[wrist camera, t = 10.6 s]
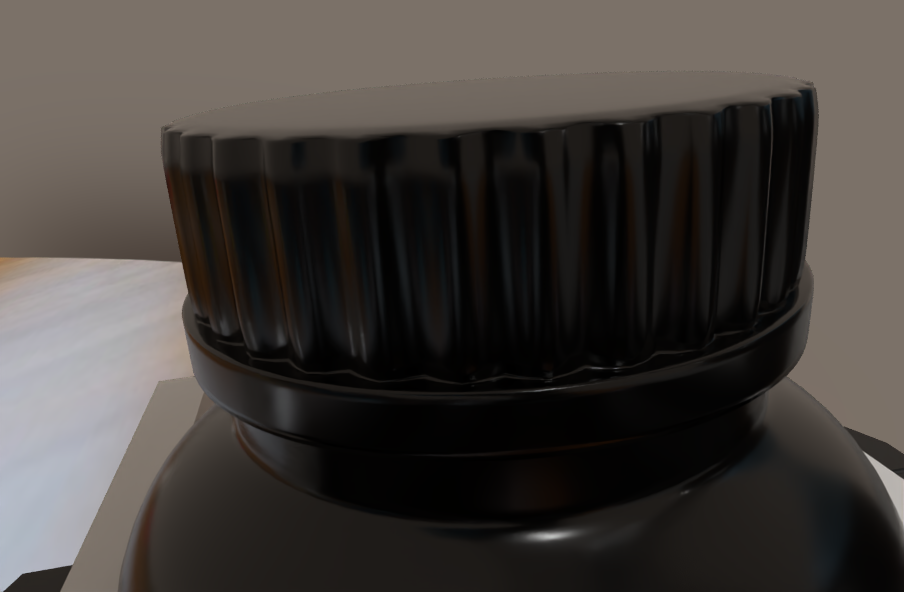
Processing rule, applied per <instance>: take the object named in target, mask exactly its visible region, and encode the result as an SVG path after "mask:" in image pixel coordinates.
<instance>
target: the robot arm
mask: <svg viewBox="0 0 904 592" xmlns="http://www.w3.org/2000/svg"><path fill="white" fill-rule="evenodd" d="M214 404H215V403H214V402H213V401H212V400H211V399H210V398H209V397H208V396H207V395H206V394H205V393H204V391H203V390H202V389H201V387H200V386H199V384H198V382H197V380H196V378H195V376H193V377H186V378H179V379H172V380H165V381H159V382H158V384H157V387H156V389H155V391H154V393H153V395H152V397H151V399H150V401H149V404H148V406H147V408H146V410H145V412H144V414H143V416H142V419H141V421H140V423H139V425H138V427H137V429H136V431H135V433H134V436H133V438H132V440H131V442H130V444H129V446H128V448H127V451H126V453H125V455H124V457H123V459H122V461H121V463H120V465H119V468H118V470H117V472H116V474H115V476H114V478H113V480H112V483H111V485H110V487H109V489H108V491H107V493H106V495H105V497H104V500H103V502H102V504H101V506H100V508H99V510H98V512H97V515H96V517H95V519H94V521H93V523H92V525H91V527H90V529H89V532H88V534H87V536H86V538H85V540H84V542H83V544H82V547H81V549H80V551H79V553H78V555H77V557H76V559H75V561H74V564H73V565H71V566H65V567H59V568H54V569H48V570H42V571H36V572H31V573H25V574H22V575H21V576H20V577H19V578H18V579H17V580H15V581H14V582H13V583H12V584H11V585H10V586H9V587H8V588H7V589H6V590H5V591H3V592H118V584H119V576H120V571H121V566H122V562H123V558H124V554H125V551H126V547H127V544H128V540H129V537H130V534H131V530H132V527H133V524H134V522H135V519H136V517H137V514H138V512H139V510H140V507H141V505H142V503H143V501H144V498H145V496H146V494H147V492H148V489H149V487H150V485H151V484H152V482H153V480H154V478H155V476H156V475H157V473H158V471H159V470H160V468H161V466H162V465H163V463H164V462H165V460H166V458H167V457H168V455H169V454H170V453H171V451H172V450H173V449H174V447H175V446H176V445H177V443H178V442H179V441H180V440H181V438H182V437H183V436H184V435H185V433H186V432H187V431H188V430H189V429H190V428H191V427H192V426H193V424H194V423H195V422H196V421H197V420H198V419H199V418H200V417H201V416H202V415H203V414H204V413H205V412H206V411H207V410H208V409H209V408H210V407H211V406H212V405H214ZM844 428H845V429H846V430H847V431H848V432H849V434H850V435H851V436H852V437H853V438H854V439H855V441H856V442H857V444H858V445H859V446H860V448H861V449H862V451H863V452H864V454H865V455H866V456H867V458H868V459H869V461H870V462H871V464H872V465H873V466H874V468H875V469H876V471H877V473H878V475H879V476H880V478H881V480H882V482H883V483H884V485H885V487H886V489H887V491H888V493H889V495H890V497H891V499H892V501H893V503H894V505H895V507H896V509H897V511H898V514H899V516H900V518H901V520H902V523H903V526H904V454H903V453H901V452H900V451H898V450H897V449H895V448H894V447H892V446H891V445H889V444H887V443H885V442H883V441H880V440H878V439H875V438H873V437H870V436H867V435H865V434H862V433H860V432H857V431H854V430H852V429H849V428H846V427H844Z"/></svg>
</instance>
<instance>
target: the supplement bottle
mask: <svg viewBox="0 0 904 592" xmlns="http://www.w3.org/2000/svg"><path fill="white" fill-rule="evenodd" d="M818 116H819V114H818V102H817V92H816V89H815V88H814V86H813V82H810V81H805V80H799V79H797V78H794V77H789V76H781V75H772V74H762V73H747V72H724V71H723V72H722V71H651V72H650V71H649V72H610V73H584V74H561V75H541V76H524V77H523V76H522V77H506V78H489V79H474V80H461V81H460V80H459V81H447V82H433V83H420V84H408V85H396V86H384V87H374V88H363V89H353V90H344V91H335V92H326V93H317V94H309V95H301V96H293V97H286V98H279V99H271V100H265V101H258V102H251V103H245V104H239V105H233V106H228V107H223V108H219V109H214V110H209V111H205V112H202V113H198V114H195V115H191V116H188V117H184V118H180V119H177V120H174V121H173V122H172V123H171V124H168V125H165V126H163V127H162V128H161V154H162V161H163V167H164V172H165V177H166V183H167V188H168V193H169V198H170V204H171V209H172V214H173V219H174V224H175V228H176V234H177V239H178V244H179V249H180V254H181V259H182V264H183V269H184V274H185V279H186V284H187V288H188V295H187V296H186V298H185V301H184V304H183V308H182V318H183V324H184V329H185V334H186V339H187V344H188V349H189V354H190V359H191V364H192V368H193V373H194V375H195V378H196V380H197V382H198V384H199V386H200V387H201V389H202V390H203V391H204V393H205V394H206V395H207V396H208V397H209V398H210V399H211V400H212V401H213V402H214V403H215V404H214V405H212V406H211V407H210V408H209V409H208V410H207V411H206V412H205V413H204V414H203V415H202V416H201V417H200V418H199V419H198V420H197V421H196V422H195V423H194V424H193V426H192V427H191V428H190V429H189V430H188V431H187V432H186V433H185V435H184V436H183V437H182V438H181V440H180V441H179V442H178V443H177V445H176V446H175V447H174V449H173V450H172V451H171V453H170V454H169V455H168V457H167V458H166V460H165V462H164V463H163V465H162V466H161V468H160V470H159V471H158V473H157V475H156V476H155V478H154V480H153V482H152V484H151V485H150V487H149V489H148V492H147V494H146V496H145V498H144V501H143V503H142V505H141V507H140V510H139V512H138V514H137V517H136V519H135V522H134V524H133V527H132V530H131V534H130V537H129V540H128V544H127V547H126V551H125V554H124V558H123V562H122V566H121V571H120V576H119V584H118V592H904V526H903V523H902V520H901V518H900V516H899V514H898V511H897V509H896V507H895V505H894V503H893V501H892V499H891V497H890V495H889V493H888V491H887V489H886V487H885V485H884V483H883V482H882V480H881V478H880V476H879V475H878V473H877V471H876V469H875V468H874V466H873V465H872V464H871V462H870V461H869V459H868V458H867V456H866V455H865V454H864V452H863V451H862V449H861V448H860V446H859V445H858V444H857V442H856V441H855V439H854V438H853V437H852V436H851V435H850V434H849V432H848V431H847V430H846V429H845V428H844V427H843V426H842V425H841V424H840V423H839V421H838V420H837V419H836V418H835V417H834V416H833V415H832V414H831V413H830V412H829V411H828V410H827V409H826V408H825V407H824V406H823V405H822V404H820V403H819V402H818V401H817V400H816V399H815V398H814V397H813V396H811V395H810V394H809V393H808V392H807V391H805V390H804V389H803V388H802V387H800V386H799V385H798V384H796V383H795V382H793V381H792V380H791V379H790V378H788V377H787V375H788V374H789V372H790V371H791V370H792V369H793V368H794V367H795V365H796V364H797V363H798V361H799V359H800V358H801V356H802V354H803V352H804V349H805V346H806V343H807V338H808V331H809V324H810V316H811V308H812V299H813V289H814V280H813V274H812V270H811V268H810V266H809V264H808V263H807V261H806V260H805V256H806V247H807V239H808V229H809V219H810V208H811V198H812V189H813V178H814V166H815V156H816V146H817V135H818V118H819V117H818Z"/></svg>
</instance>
